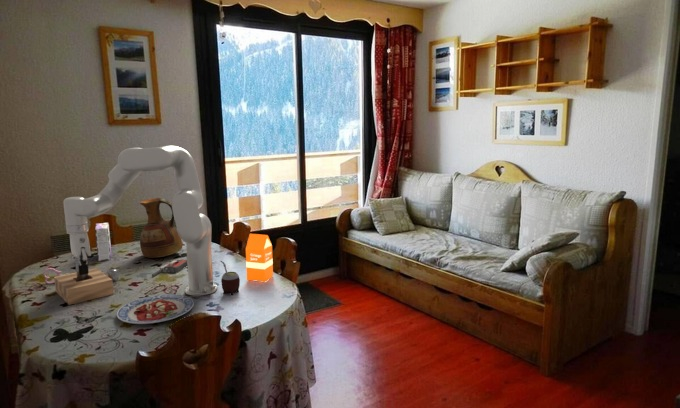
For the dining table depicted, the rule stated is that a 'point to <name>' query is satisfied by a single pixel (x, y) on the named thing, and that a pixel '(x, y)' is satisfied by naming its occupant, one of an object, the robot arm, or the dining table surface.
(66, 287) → the hole block
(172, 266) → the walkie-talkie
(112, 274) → the short pin
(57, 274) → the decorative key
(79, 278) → the tall pin
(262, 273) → the orange juice
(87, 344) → the dining table surface
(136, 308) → the ceramic plate
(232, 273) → the mate gourd
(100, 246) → the candy box
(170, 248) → the ceramic pitcher
